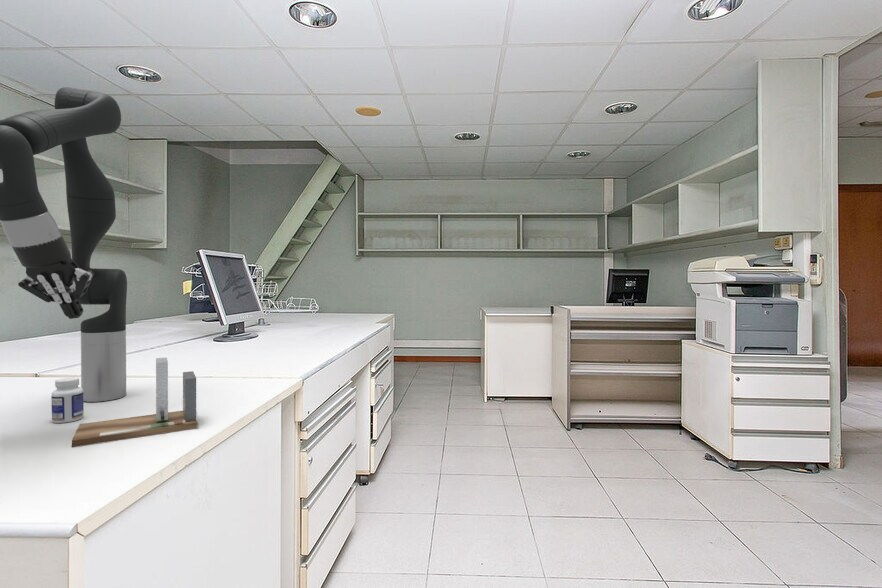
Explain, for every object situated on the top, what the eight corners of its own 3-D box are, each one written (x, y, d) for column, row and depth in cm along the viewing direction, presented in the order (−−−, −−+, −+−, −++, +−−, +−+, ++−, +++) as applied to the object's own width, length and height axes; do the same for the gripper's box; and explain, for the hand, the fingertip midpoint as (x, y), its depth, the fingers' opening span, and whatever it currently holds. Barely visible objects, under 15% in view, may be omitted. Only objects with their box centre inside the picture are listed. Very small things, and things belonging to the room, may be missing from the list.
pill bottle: (82, 414, 99) (81, 375, 99) (85, 420, 95) (84, 379, 95) (50, 419, 95) (50, 378, 95) (52, 425, 91) (52, 383, 91)
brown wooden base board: (79, 429, 89) (79, 422, 89) (192, 414, 100) (192, 407, 100) (71, 447, 80) (71, 439, 80) (196, 428, 91) (196, 421, 91)
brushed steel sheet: (156, 413, 94) (155, 358, 94) (167, 412, 95) (166, 357, 95) (156, 425, 86) (156, 365, 86) (168, 424, 88) (168, 364, 87)
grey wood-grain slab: (182, 412, 98) (182, 372, 97) (193, 410, 99) (193, 371, 98) (185, 422, 91) (185, 379, 91) (196, 420, 92) (196, 377, 92)
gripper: (85, 228, 87) (119, 304, 95) (10, 235, 85) (52, 312, 93) (63, 241, 80) (102, 321, 89) (-18, 249, 79) (29, 330, 87)
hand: (76, 316), depth 91 cm, fingers closed
